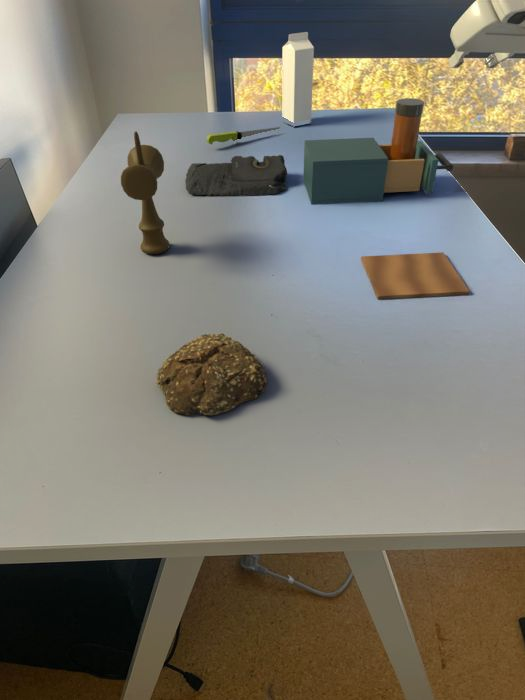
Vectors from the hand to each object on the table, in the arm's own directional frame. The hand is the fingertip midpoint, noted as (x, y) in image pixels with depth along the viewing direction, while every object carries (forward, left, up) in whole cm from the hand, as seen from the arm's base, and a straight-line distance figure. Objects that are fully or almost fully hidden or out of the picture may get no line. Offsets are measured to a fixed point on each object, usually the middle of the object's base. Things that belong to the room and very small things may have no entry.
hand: (470, 65), depth 93 cm
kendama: (+58, +19, -24) cm, 66 cm away
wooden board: (+16, +32, -23) cm, 43 cm away
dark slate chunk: (+43, -10, -24) cm, 50 cm away
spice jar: (+9, -3, -21) cm, 24 cm away
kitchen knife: (+40, -37, -24) cm, 59 cm away
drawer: (+8, -3, -23) cm, 24 cm away
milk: (+25, -51, -24) cm, 61 cm away
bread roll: (+48, +54, -24) cm, 76 cm away
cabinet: (+21, -3, -24) cm, 32 cm away
